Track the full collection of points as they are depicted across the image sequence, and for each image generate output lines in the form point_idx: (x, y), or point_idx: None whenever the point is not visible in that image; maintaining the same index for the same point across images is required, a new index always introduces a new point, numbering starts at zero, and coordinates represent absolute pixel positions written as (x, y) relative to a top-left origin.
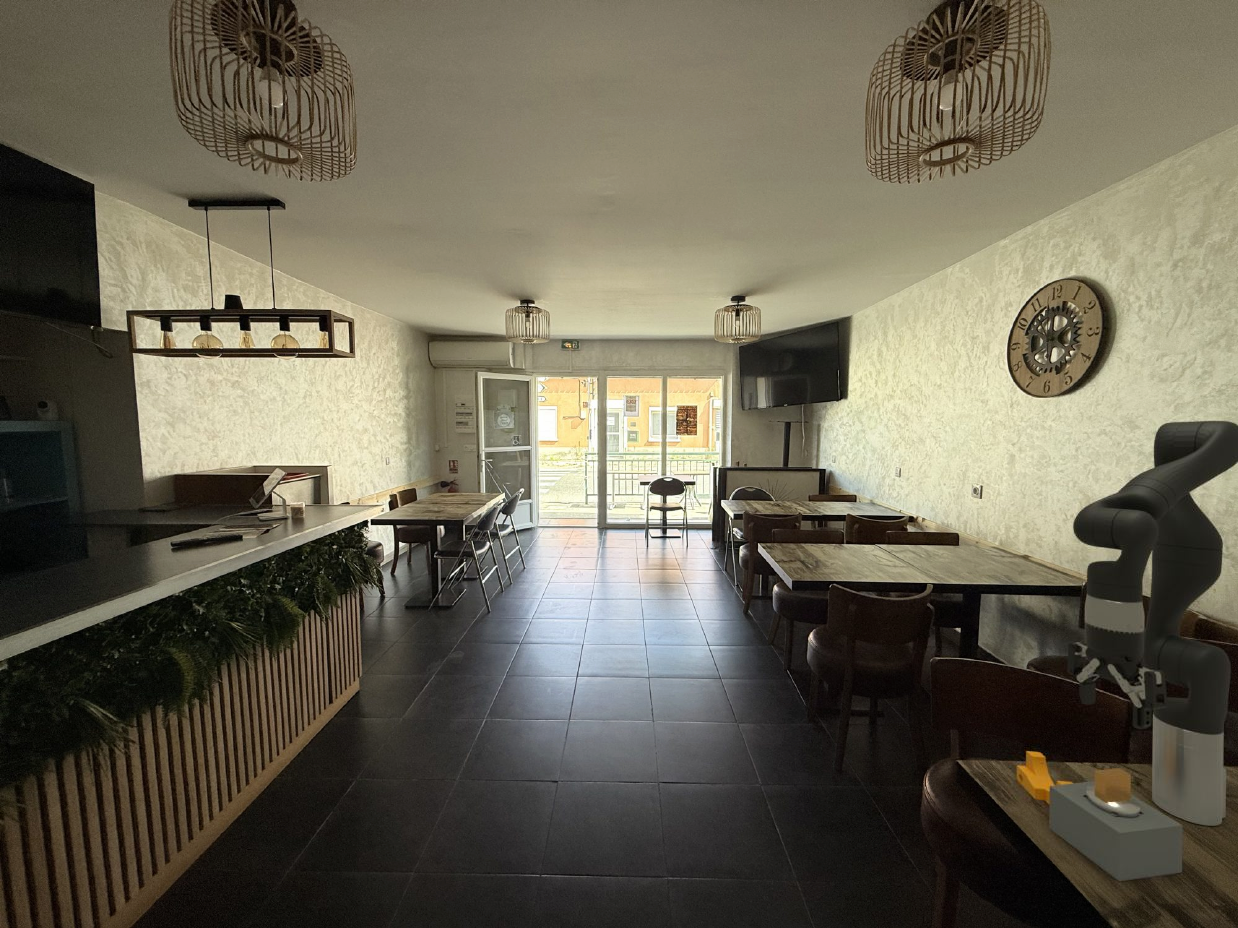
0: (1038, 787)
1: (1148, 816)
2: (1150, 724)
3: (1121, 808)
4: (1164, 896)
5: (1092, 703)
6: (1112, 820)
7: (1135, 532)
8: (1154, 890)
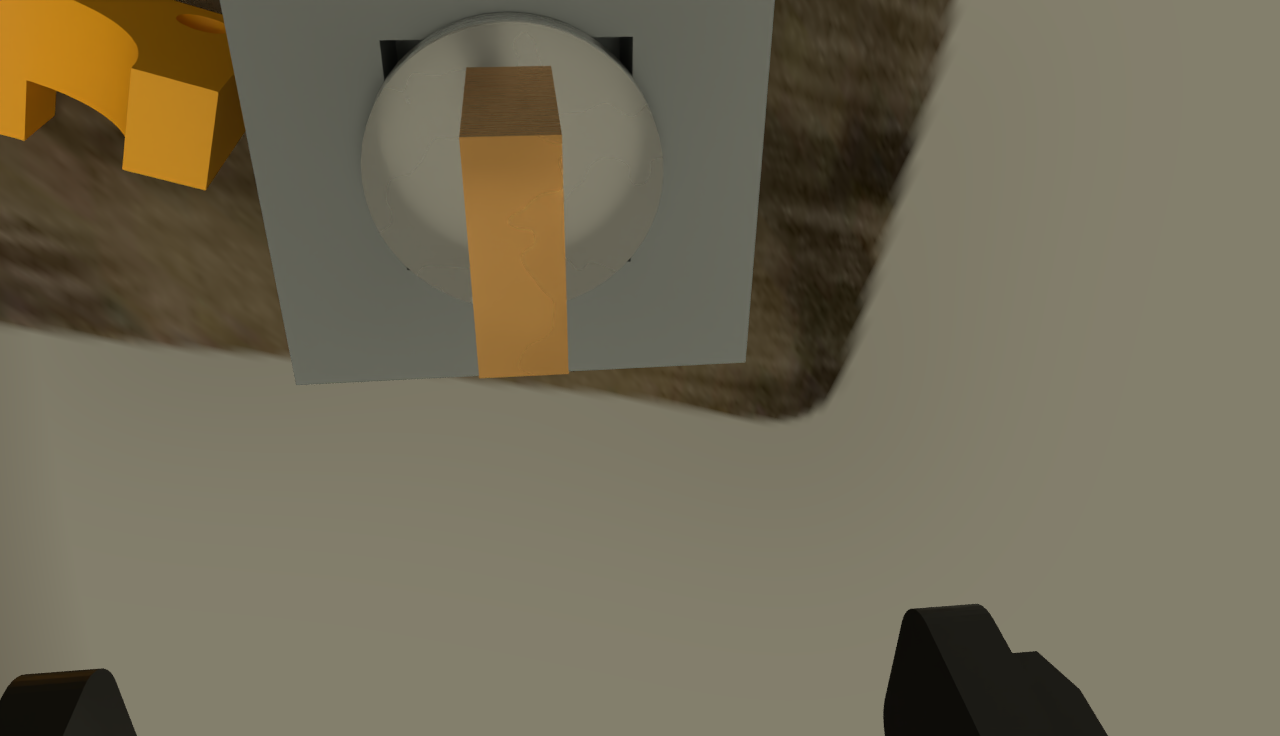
0: (9, 107)
1: (661, 35)
2: (1069, 693)
3: (626, 229)
4: (807, 126)
5: (120, 702)
6: (650, 304)
7: None
8: (771, 135)
